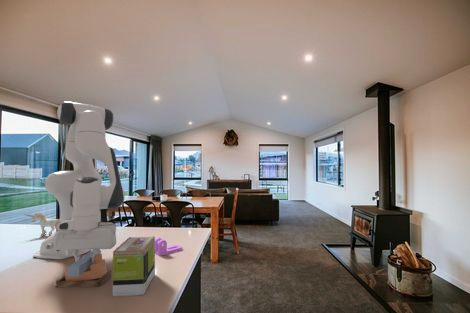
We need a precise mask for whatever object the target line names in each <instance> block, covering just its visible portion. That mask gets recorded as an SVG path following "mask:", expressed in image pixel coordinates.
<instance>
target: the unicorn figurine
mask: <svg viewBox="0 0 470 313" xmlns="http://www.w3.org/2000/svg"><path fill="white" fill-rule="evenodd" d="M23 216H26V217H32V219H31V222H32V223H35V222H36V220H38V219H39V221H40V222H39V225H40V228H41V234H40V235H43V236H45V235H46V234H47V230H46V229H45V227H50V229H51V230H50V231H49V232H48V237H49V236H51V235H52V234H53V232H54V230H55V229H56V230H57V228H55V227H56V225H57V224H59V223H60V220H61V218H57V219H56V218H48V217H47V216H46V214H44V213H41V212H35V213H32V215H31V214H24V215H23ZM54 226H55V227H54ZM54 228H55V229H54ZM45 233H46V234H45Z"/></svg>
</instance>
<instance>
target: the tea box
mask: <svg viewBox="0 0 470 313" xmlns="http://www.w3.org/2000/svg"><path fill="white" fill-rule="evenodd" d="M155 239H156V237H155V236H154V235H153V236H136V237H135V236H134V237H131V236H129V237H128V238H126V240H125V241H123V242H122V243H121V244H120V245H119V246H118V247H116V248H115V250H113V252H112V296H113V297H131V296H143V295H145V293H146V291H147V289H148V287H149V285H150V284H151V282H152V281H153V278H154V277H155V274H156V273H155V272H156V262H155V261H156V254H155Z"/></svg>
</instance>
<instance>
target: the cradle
mask: <svg viewBox="0 0 470 313" xmlns="http://www.w3.org/2000/svg"><path fill="white" fill-rule="evenodd" d="M111 276H112V270H107V273H106V274H105V275H104V276H103V277H101V278H97V279H92V280H86V281H66V278H65V274H64V275H63V276H61V277H60V278H58V279H57V280H56V281H55V287H56V288H71V287H73V288H74V287H75V288H76V287H77V288H78V287H101V286H102V285H104V283H106V281H108V279H109V278H111Z"/></svg>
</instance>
